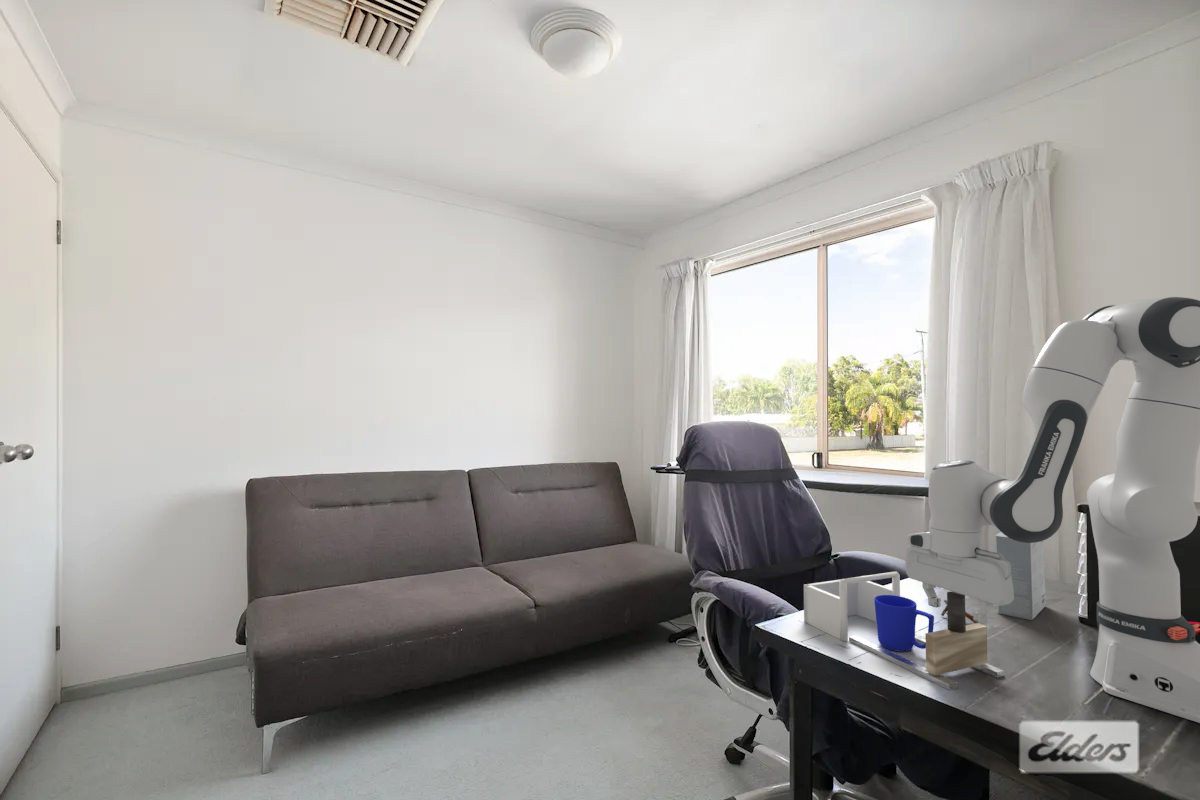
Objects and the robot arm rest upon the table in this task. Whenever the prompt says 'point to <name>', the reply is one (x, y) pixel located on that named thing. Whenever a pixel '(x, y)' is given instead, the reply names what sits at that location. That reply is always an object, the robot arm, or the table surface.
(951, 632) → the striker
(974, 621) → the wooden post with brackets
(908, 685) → the table surface
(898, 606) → the mug
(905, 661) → the rails
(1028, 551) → the hard drive box
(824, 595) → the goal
